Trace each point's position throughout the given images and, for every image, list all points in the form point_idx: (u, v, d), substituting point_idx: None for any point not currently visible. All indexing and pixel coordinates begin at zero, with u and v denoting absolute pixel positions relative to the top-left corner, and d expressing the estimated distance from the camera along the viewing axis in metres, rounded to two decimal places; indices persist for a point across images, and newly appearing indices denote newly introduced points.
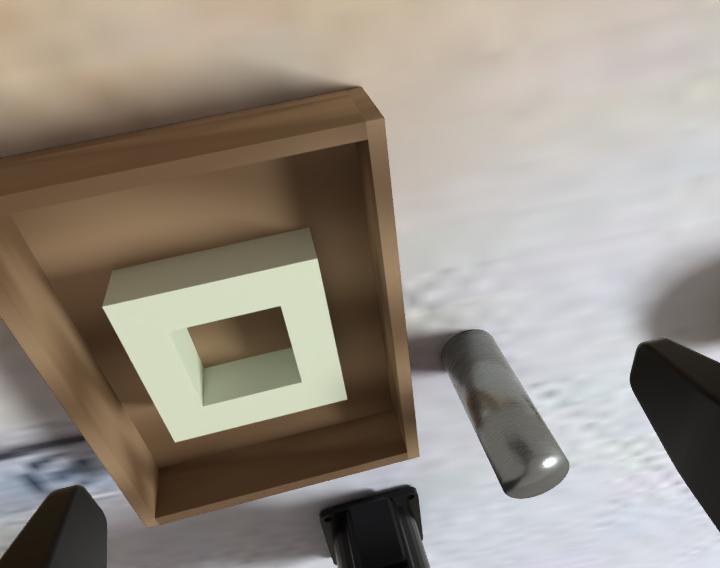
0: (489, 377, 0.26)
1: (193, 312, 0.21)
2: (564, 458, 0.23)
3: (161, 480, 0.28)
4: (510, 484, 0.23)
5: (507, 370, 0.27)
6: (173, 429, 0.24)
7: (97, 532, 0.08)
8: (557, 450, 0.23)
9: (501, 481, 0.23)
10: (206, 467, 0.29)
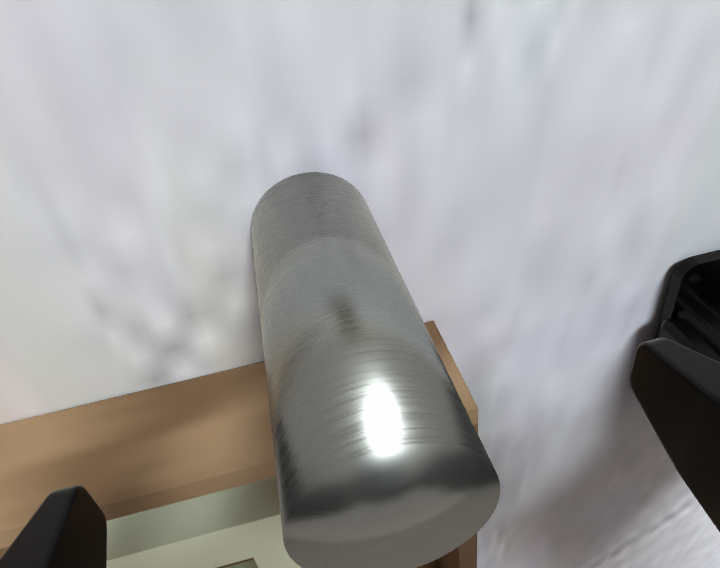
0: None
1: None
2: (321, 483, 0.07)
3: None
4: (406, 559, 0.08)
5: (265, 277, 0.11)
6: None
7: (97, 532, 0.08)
8: (298, 479, 0.07)
9: None
10: None
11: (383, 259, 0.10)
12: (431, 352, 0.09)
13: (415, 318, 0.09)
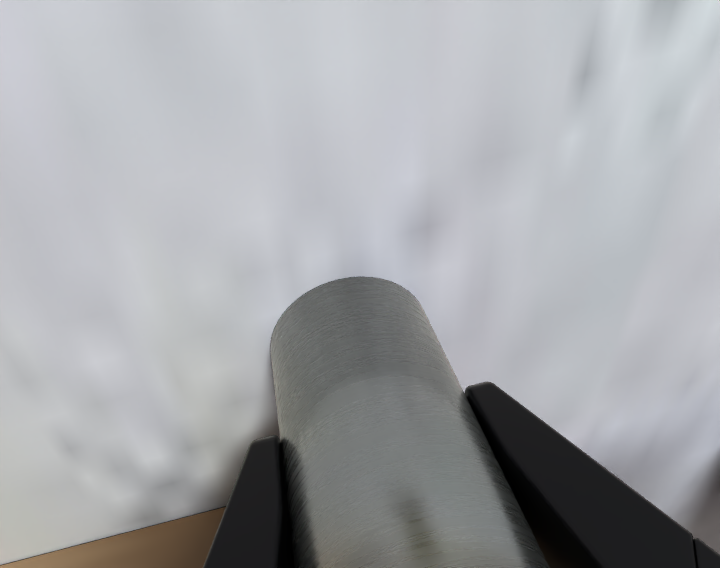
0: None
1: None
2: None
3: None
4: None
5: (297, 461, 0.07)
6: None
7: None
8: None
9: None
10: None
11: (474, 442, 0.07)
12: None
13: None
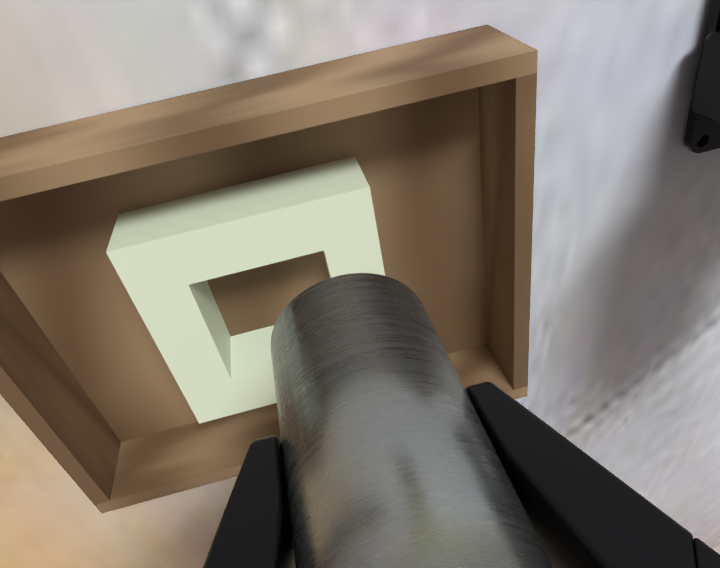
0: None
1: (202, 361, 0.19)
2: None
3: (493, 352, 0.24)
4: None
5: (298, 456, 0.07)
6: None
7: None
8: None
9: None
10: (491, 312, 0.23)
11: (475, 438, 0.07)
12: None
13: None
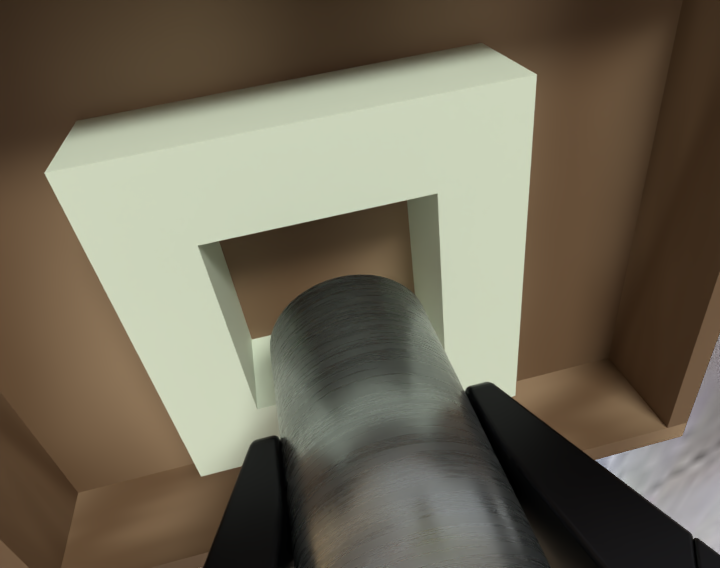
0: None
1: (213, 380, 0.11)
2: None
3: (623, 371, 0.17)
4: None
5: (297, 459, 0.07)
6: None
7: None
8: None
9: None
10: (634, 313, 0.16)
11: (474, 440, 0.07)
12: None
13: None
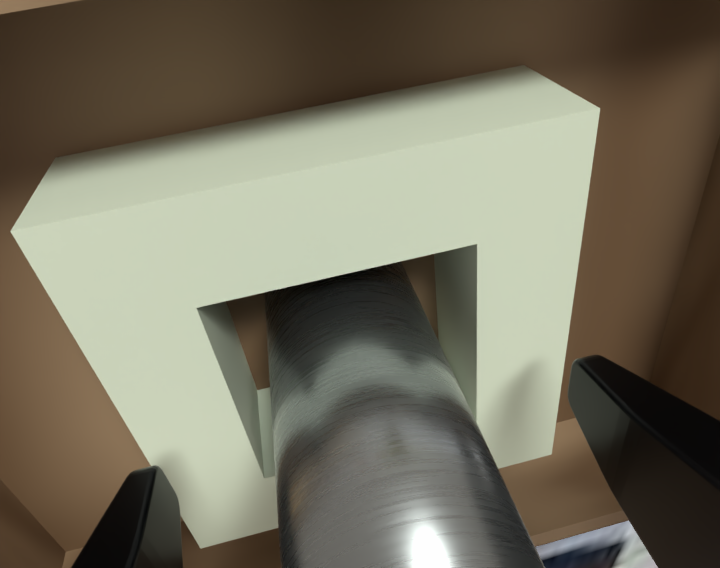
0: None
1: (215, 450, 0.10)
2: None
3: None
4: None
5: (279, 371, 0.08)
6: (517, 458, 0.12)
7: (173, 512, 0.08)
8: None
9: None
10: (679, 356, 0.14)
11: (431, 353, 0.08)
12: (506, 507, 0.06)
13: (479, 447, 0.07)
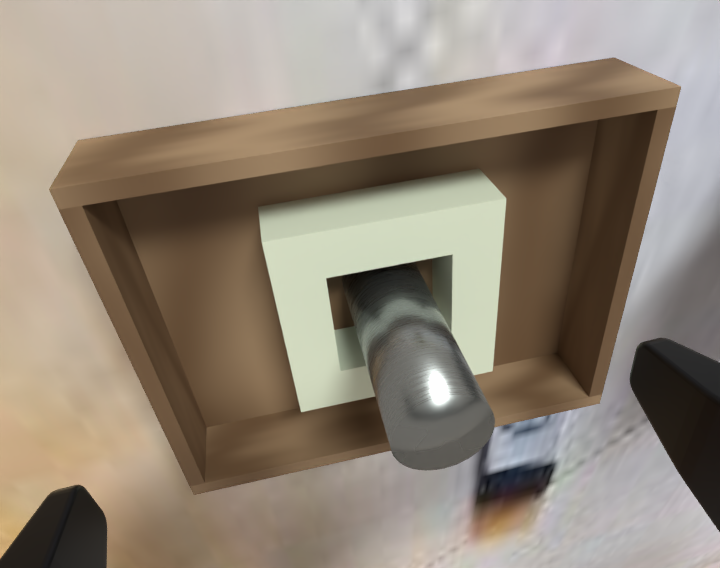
0: None
1: (319, 352, 0.20)
2: (413, 411, 0.14)
3: (565, 361, 0.26)
4: (446, 460, 0.16)
5: (362, 310, 0.19)
6: (473, 372, 0.22)
7: (97, 532, 0.08)
8: (400, 411, 0.15)
9: None
10: (572, 323, 0.24)
11: (431, 302, 0.18)
12: (460, 355, 0.16)
13: (451, 337, 0.17)
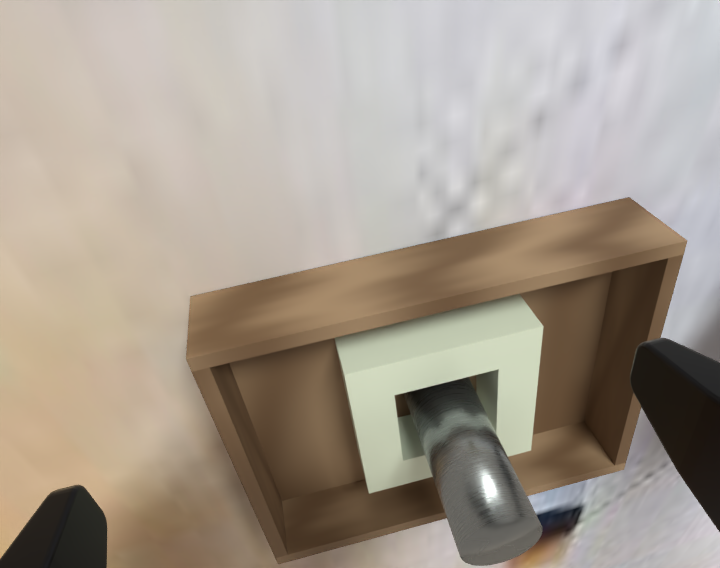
0: (422, 447, 0.23)
1: (386, 448, 0.24)
2: (478, 531, 0.18)
3: (592, 430, 0.29)
4: (502, 557, 0.20)
5: (424, 421, 0.22)
6: (514, 452, 0.26)
7: (97, 532, 0.08)
8: (467, 528, 0.18)
9: None
10: (597, 400, 0.28)
11: (482, 415, 0.22)
12: (511, 470, 0.20)
13: (502, 451, 0.21)
